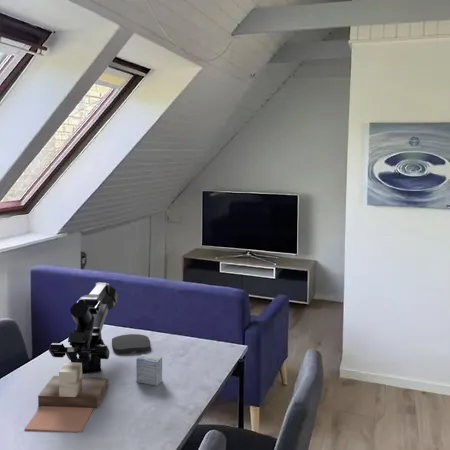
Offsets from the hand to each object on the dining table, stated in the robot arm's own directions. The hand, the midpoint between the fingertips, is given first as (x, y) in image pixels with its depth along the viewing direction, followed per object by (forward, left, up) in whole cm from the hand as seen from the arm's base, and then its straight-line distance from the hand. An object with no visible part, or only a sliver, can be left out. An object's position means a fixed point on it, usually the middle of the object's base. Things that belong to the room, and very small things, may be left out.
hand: (74, 376), depth 167 cm
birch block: (+1, +4, -3) cm, 5 cm away
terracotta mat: (+5, +13, -7) cm, 16 cm away
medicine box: (-25, -4, -7) cm, 26 cm away
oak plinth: (0, 0, -7) cm, 7 cm away
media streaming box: (-24, -37, -7) cm, 45 cm away
